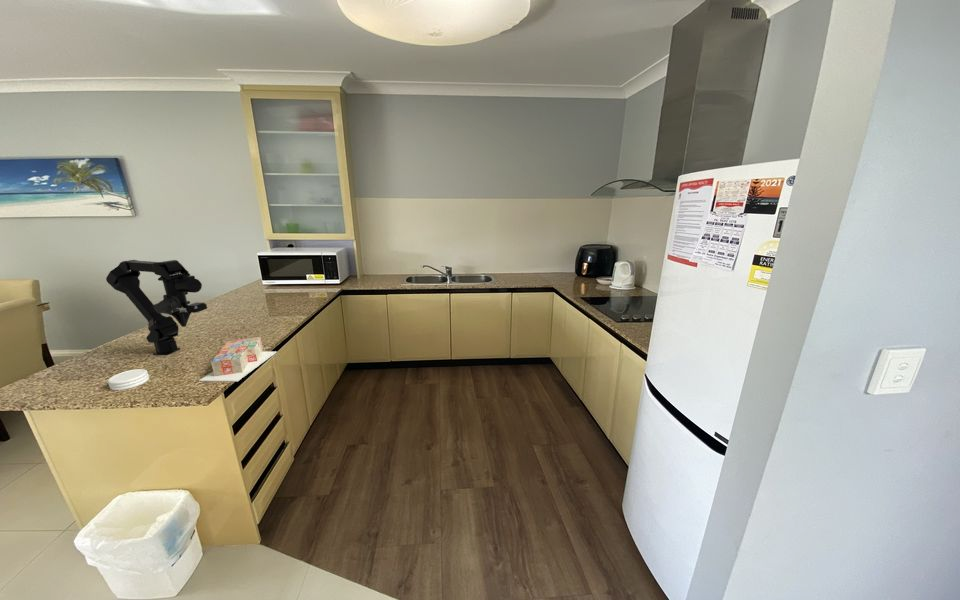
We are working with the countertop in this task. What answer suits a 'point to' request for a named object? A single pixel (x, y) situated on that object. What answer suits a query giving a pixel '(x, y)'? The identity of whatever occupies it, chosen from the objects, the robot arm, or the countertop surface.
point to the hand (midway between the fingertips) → (184, 326)
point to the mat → (237, 376)
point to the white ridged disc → (128, 379)
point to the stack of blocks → (236, 356)
